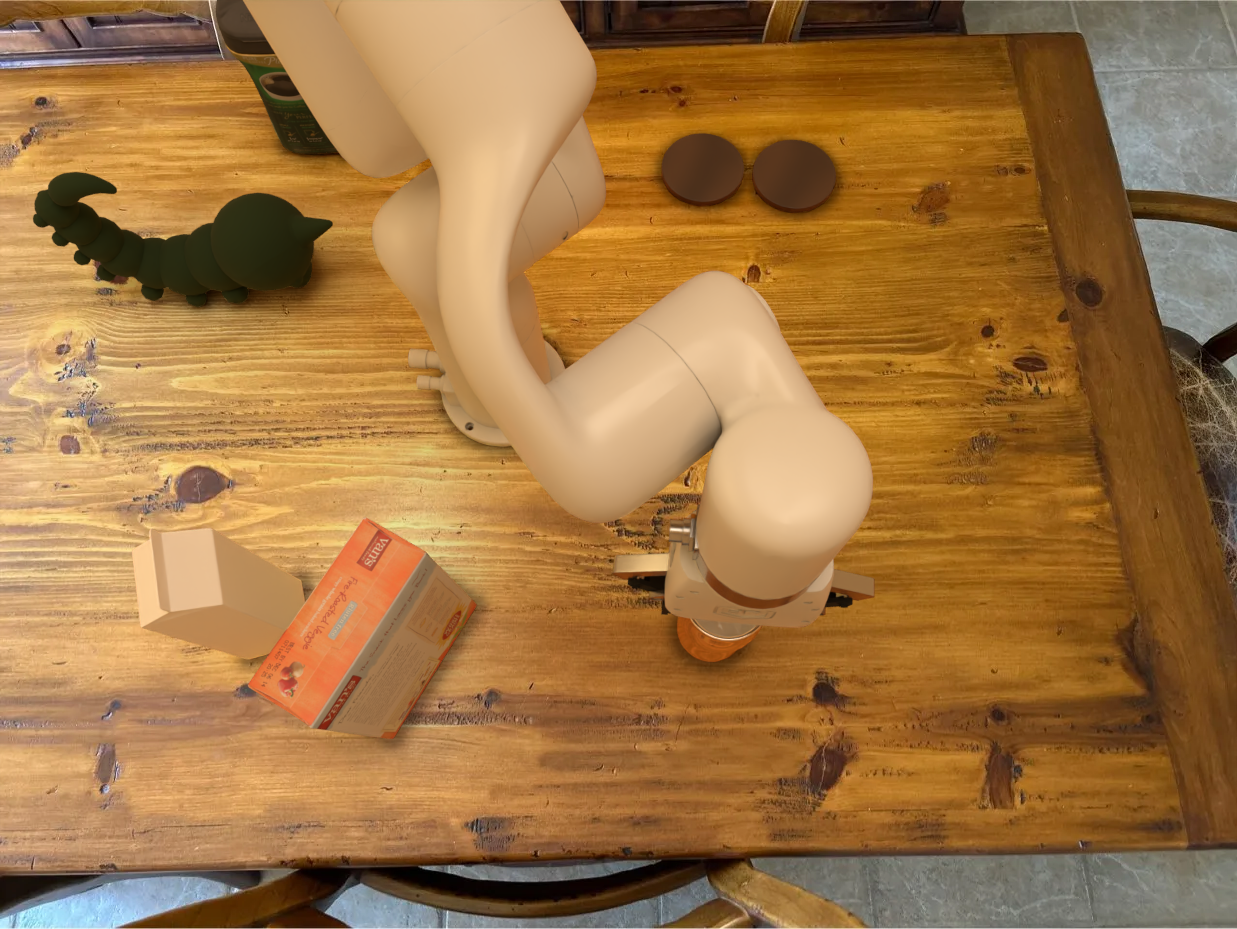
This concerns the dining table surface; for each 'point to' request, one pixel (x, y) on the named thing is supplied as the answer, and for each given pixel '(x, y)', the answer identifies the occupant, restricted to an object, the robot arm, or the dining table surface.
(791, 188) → the coaster
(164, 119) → the dining table surface
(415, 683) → the cracker box
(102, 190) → the toy figurine
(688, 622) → the wood grain tumbler
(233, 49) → the coffee jar
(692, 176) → the coaster
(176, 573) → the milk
